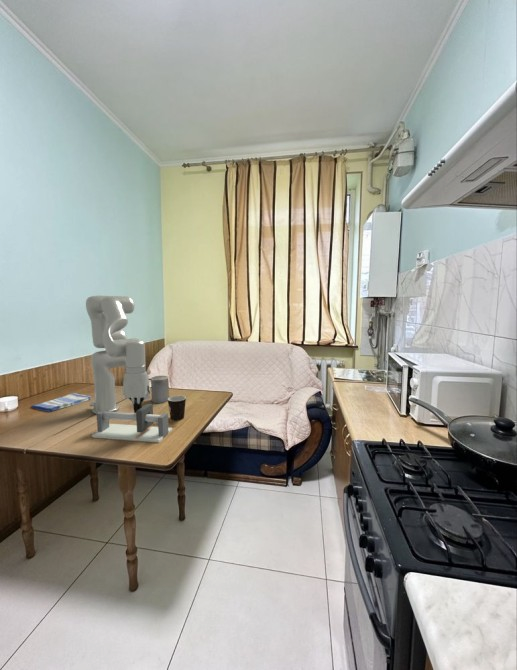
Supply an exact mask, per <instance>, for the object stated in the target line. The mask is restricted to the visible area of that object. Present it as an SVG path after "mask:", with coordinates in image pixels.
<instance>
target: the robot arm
mask: <svg viewBox="0 0 517 670" xmlns="http://www.w3.org/2000/svg"><path fill="white" fill-rule="evenodd" d="M134 303H135V302H134V301H133V298H131V297H130V296H127V295H126V296H121V295H120V296H119V295H91V296H89V297H87V299H86V301H85V308H86V312H87V314H88V318H89V320H90V322H91V323H90V324H91V337H92V344H93V346H94V348H97V349H105V350H99V351H95V352H94V353H92V354H91V356H90V363H91V368H92V371H93V383H94V385H93V386H94V387H93V388H94V399H95V401H94V400H93V401H90V403H89V407H93V408H92V409H91V410H92V412H91V413H92V414H96V415H97V413H99V412H101V411H103V410H108V411H109V412H117V411H118V410H119V409H120V405H119V404H116V403H117V399H116V397H117V396H116V383H115V382H116V379H115V375H114V373H113V372H112V371H111V370H110V369H114V368H121V367H123V370H124V371H125V373H124V376H123V384H122V394H123V395H122V396H123V397H124V398H125V399H127V400H130V402H131V404H132V405H133V412H134V413H136V411H137V410H139V409H140V408H142V407H143V402H144V401H145V400H149V399H150V398H151V395H150V394H151V383H150V378H149V374H148V372H147V371H146V370H147V369H146V368H147V366H146V364H147V363H146V344H145V342H144V341H143V340H140V339H138V338H133V337H132V338H127V335H126V332H125V331H124V330H123V329H124V328H126V327H127V326H128V324H129V319H128V318H127V315H128V314H129V315H130V314H132V313H133V312H134V311H135V304H134ZM126 314H127V315H126Z"/></svg>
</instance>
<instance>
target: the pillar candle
mask: <svg viewBox="0 0 517 670" xmlns="http://www.w3.org/2000/svg"><path fill="white" fill-rule="evenodd" d="M169 382H170V381H169V376H168V375H156V376H152V377H151V378H150V392H151V402H152V404H160V403H161V404H162V403H168V398H169V397H170V387H169V386H170V385H169Z"/></svg>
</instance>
